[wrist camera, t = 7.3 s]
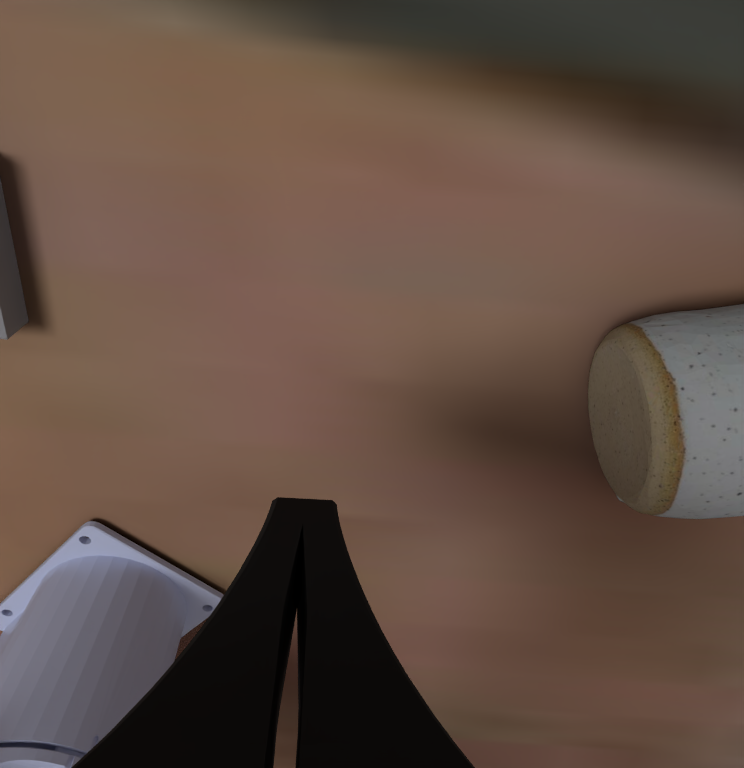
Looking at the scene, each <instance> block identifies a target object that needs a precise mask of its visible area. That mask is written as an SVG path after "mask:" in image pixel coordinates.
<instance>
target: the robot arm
mask: <svg viewBox="0 0 744 768" xmlns="http://www.w3.org/2000/svg"><path fill="white" fill-rule="evenodd" d="M85 536H86V537H85ZM87 537H89V538H87ZM296 611H297V633H298V700H299V712H298V739H297V754H296V768H475V767H474V766H473V765H472V764H471V762H470V761H469V760H468V759H467V757H466V756H465V755H464V754H463V752H462V751H461V750H460V749H459V747H458V746H457V745H456V744H455V742H454V741H453V740H452V738H451V737H450V736H449V734H448V733H447V732H446V730H445V729H444V728H443V726H442V725H441V724H440V722H439V721H438V720H437V718H436V717H435V716H434V714H433V713H432V711H431V710H430V708H429V707H428V705H427V704H426V702H425V701H424V699H423V698H422V696H421V695H420V693H419V692H418V690H417V689H416V687H415V686H414V684H413V683H412V681H411V680H410V678H409V677H408V675H407V674H406V672H405V670H404V669H403V667H402V665H401V664H400V662H399V660H398V659H397V657H396V655H395V654H394V652H393V650H392V648H391V646H390V645H389V643H388V641H387V639H386V637H385V636H384V634H383V632H382V630H381V628H380V626H379V624H378V622H377V620H376V618H375V616H374V614H373V612H372V610H371V607H370V605H369V603H368V601H367V599H366V597H365V594H364V592H363V590H362V587H361V585H360V583H359V580H358V578H357V575H356V572H355V570H354V567H353V564H352V562H351V559H350V556H349V553H348V551H347V547H346V544H345V541H344V538H343V534H342V530H341V527H340V522H339V517H338V512H337V504H336V503H335V502H334V501H333V500H317V499H298V498H279V497H278V498H276V499H275V500H273V501H272V504H271V507H270V510H269V513H268V515H267V518H266V520H265V523H264V525H263V527H262V529H261V531H260V534H259V536H258V538H257V540H256V542H255V544H254V546H253V547H252V549H251V551H250V553H249V554H248V556H247V558H246V560H245V562H244V563H243V565H242V567H241V569H240V570H239V572H238V574H237V575H236V577H235V579H234V580H233V582H232V583H231V585H230V586H229V588H228V589H227V591H226V593H225V594H224V595H223V594H222V593H221V592H219V591H217V590H215V589H214V588H212V587H210V586H208V585H207V584H205V583H203V582H201V581H200V580H198V579H196V578H194V577H193V576H191V575H189V574H188V573H186V572H184V571H182V570H181V569H179V568H177V567H175V566H174V565H172V564H170V563H168V562H167V561H165V560H163V559H161V558H160V557H158V556H156V555H154V554H153V553H151V552H149V551H148V550H146V549H144V548H142V547H141V546H139V545H137V544H135V543H134V542H132V541H130V540H128V539H127V538H125V537H123V536H121V535H120V534H118V533H116V532H115V531H113V530H111V529H109V528H108V527H106V526H104V525H102V524H101V523H98V522H95V521H89V522H86V523H84V524H83V525H82V526H81V527H80V528H79V529H78V530H77V531H76V532H75V533H74V534H73V535H72V536H71V537H70V538H69V539H68V540H67V541H65V542H64V543H63V544H62V545H61V546H60V547H59V548H58V549H57V550H56V551H55V552H54V553H53V554H52V555H51V556H50V557H49V558H48V559H47V560H45V561H44V562H43V563H42V564H41V565H40V566H39V567H38V568H37V569H36V570H35V571H34V572H33V573H32V574H31V575H30V576H29V577H28V578H27V579H25V580H24V581H23V582H22V583H21V584H20V585H19V586H18V587H17V588H16V589H15V590H14V591H13V592H12V593H11V594H10V595H9V596H8V597H7V598H5V599H4V600H3V601H2V602H1V603H0V630H1V631H3V632H2V634H1V636H0V768H273V765H274V754H275V743H276V732H277V724H278V716H279V709H280V703H281V697H282V691H283V686H284V680H285V674H286V668H287V663H288V657H289V651H290V645H291V640H292V634H293V628H294V622H295V617H296ZM208 617H209V618H208ZM207 618H208V619H207ZM205 619H207V620H206V622H205V623H204V625H203V626H202V627H201V629H200V630H199V631H198V633H197V634H196V635H195V636H194V638H193V639H192V640H191V642H190V643H189V644H188V645H187V647H186V648H185V649H184V650H183V652H182V653H181V654H180V655H179V656H178V658H177V659H176V660H175V657H176V653H177V650H178V646H179V642H180V639H181V637H183V636H184V635H185V634H187V633H188V632H189V631H191V630H192V629H193V628H195V627H196V626H197V625H199V624H200V623H201V622H203V621H204V620H205Z"/></svg>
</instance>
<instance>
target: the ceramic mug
mask: <svg viewBox="0 0 744 768" xmlns="http://www.w3.org/2000/svg"><path fill="white" fill-rule="evenodd" d="M588 411H589V419H590V426H591V432H592V437H593V442H594V447H595V450H596V453H597V457H598V460H599V463H600V466H601V468H602V471H603V474H604V476H605V477H606V479H607V481H608V483H609V485H610V487H611V488H612V490H613V491H614V492H615V494H616V496H617V498H618V499H619V500H620V501H622V502H624V503H626V504H627V505H628V506H629V507H630V508H632V509H634V510H636V511H638V512H639V513H644V514H649V515H654V516H661V517H671V518H686V519H708V518H722V517H734V516H744V304H739V305H732V306H725V307H718V308H711V309H704V310H692V311H678V312H671V313H665V314H658V315H652V316H649V317H645V318H642V319H638V320H635V321H631V322H629V323H626V324H623V325H621V326H619V327H617V328H615V329H613V330H611V331H610V332H609V333H608V334H607V336H606V337H605V338H604V339H603V341H602V342H601V344H600V345H599V347H598V348H597V350H596V352H595V354H594V357H593V360H592V364H591V368H590V374H589V384H588Z"/></svg>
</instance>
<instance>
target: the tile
mask: <svg viewBox="0 0 744 768" xmlns="http://www.w3.org/2000/svg"><path fill="white" fill-rule="evenodd" d="M28 322H29V320H28V315H27V310H26V305H25V300H24V295H23V290H22V285H21V280H20V275H19V270H18V265H17V260H16V255H15V249H14V244H13V239H12V234H11V229H10V224H9V219H8V214H7V209H6V204H5V199H4V194H3V189H2V184H1V179H0V339H9V338H10V337H11V336H12V335H13V334H14V333H16V332H17V331H18V330H19V329H20V328H22V327H23V326H24V325H25V324H26V323H28Z"/></svg>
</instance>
